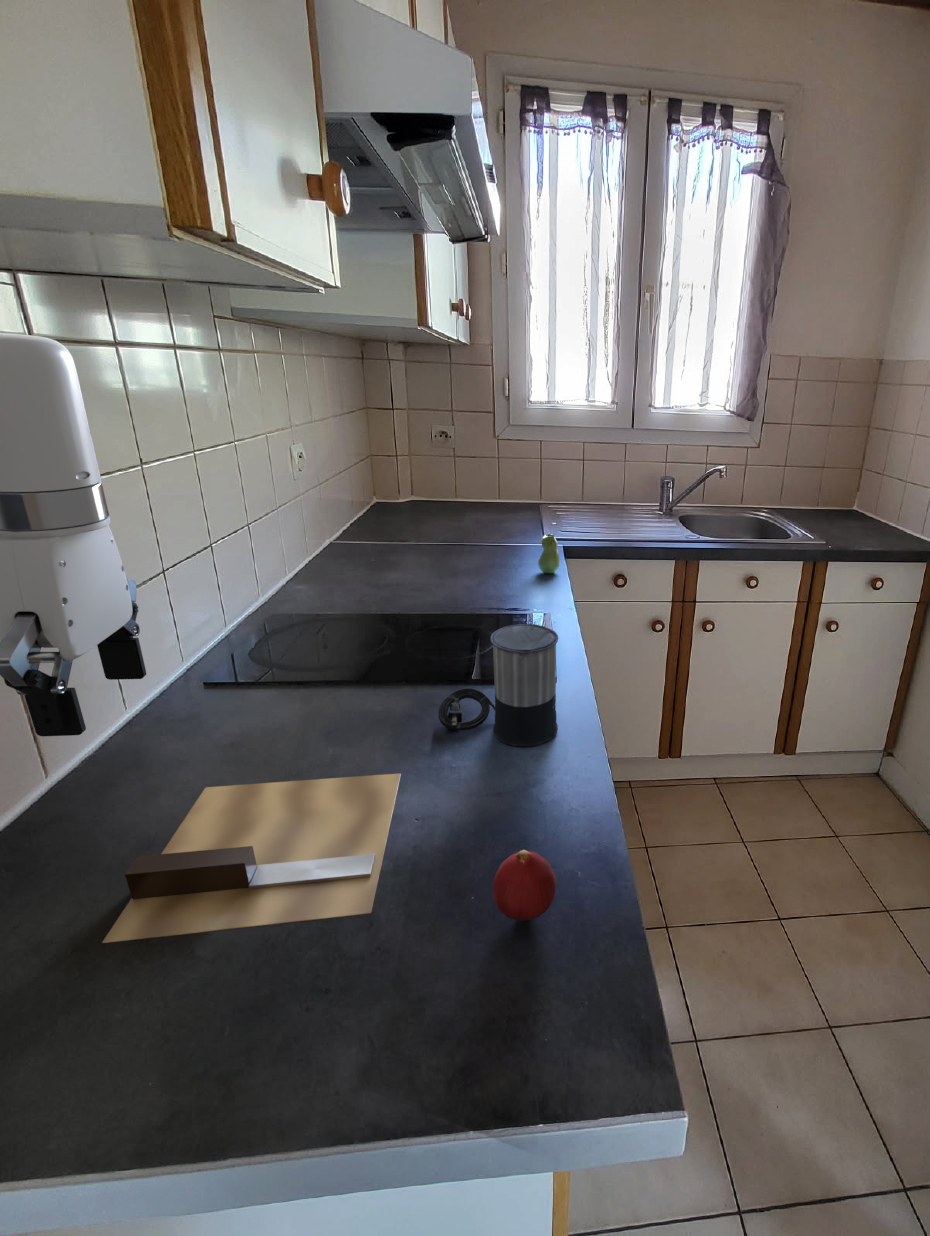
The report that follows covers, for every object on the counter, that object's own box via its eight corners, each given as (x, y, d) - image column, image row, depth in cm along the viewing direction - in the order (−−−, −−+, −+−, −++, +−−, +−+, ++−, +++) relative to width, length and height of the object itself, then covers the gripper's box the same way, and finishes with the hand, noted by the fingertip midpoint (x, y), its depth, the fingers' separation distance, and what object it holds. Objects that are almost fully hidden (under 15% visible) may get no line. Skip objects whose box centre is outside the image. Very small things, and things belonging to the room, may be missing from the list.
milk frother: (567, 740, 90) (568, 644, 84) (454, 764, 83) (448, 662, 78) (535, 695, 102) (534, 608, 96) (434, 713, 95) (427, 621, 90)
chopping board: (105, 955, 55) (100, 943, 55) (207, 797, 75) (205, 787, 75) (372, 925, 59) (371, 913, 59) (402, 783, 79) (401, 772, 79)
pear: (558, 576, 159) (558, 537, 156) (537, 575, 159) (536, 536, 156) (559, 570, 165) (560, 532, 161) (539, 569, 164) (539, 531, 161)
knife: (131, 901, 59) (123, 876, 58) (145, 879, 61) (138, 854, 60) (370, 877, 63) (367, 853, 62) (375, 857, 65) (372, 833, 64)
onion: (511, 887, 64) (509, 822, 61) (564, 901, 63) (565, 836, 60) (483, 931, 59) (480, 863, 56) (541, 949, 58) (540, 879, 55)
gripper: (59, 486, 56) (103, 661, 62) (-111, 535, 40) (-29, 763, 47) (154, 488, 58) (188, 660, 64) (27, 537, 42) (88, 758, 48)
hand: (97, 703), depth 55 cm, fingers open, 9 cm apart
